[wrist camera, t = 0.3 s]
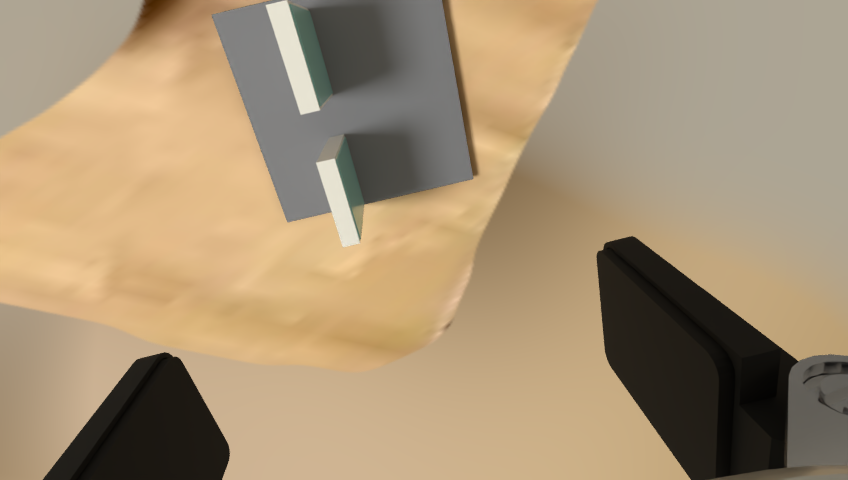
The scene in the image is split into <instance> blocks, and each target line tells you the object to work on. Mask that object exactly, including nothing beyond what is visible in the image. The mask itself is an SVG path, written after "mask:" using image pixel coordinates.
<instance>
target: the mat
mask: <svg viewBox="0 0 848 480" xmlns="http://www.w3.org/2000/svg"><path fill="white" fill-rule="evenodd" d="M281 1H285V0H272V1H267V2H263V3H259V4H255V5H251V6H246V7H242V8H238V9H234V10H229V11H225V12H221V13H217V14H213V15H212V18H213V21H214V23H215V26H216V29H217V31H218V34H219V37H220V40H221V42H222V45H223V48H224V51H225V53H226V56H227V59H228V61H229V64H230V67H231V70H232V72H233V75H234V78H235V81H236V83H237V86H238V89H239V91H240V94H241V97H242V100H243V102H244V105H245V108H246V111H247V113H248V116H249V119H250V122H251V124H252V127H253V130H254V132H255V135H256V138H257V141H258V143H259V146H260V149H261V152H262V154H263V157H264V160H265V162H266V165H267V168H268V171H269V173H270V176H271V179H272V182H273V184H274V187H275V190H276V192H277V195H278V198H279V201H280V203H281V206H282V209H283V212H284V214H285V217H286V220H287V222H291V221H295V220H300V219H304V218H308V217H313V216H317V215H321V214H325V213H330V212H332V211H331V208H330V205H329V202H328V199H327V196H326V193H325V189H324V186H323V183H322V180H321V177H320V174H319V171H318V168H317V164H316V162H317V160H318V158H319V156H320V154H321V152H322V150H323V148H324V146H325V144H326V143H327V141H328V139H329V138H330V137H334V136H338V135H342V134H344V136H345V137H346V140H347V143H348V147H349V150H350V154H351V157H352V161H353V164H354V168H355V171H356V175H357V178H358V182H359V185H360V189H361V192H362V196H363V199H364V204H368V203H373V202H377V201H381V200H385V199H390V198H394V197H398V196H403V195H407V194H411V193H415V192H420V191H424V190H428V189H433V188H437V187H441V186H445V185H450V184H454V183H458V182H463V181H467V180H471V179H473V174H472V169H471V163H470V157H469V151H468V146H467V140H466V134H465V129H464V123H463V117H462V112H461V106H460V100H459V95H458V89H457V83H456V77H455V72H454V66H453V60H452V55H451V49H450V43H449V38H448V32H447V26H446V21H445V15H444V9H443V4H442V0H288V1H291V2H293V3H295V4H298V5H300V6H303V7H305V8H308V10H309V11H310V14H311V17H312V21H313V24H314V28H315V31H316V35H317V38H318V42H319V45H320V49H321V52H322V56H323V59H324V63H325V66H326V70H327V73H328V77H329V80H330V84H331V87H332V91H333V93H332V94H333V96H332V97H331V98H330V99H329V100H328V102H327V103H326V104H325V105H324V106H323V108H322V109H321V110H319V111H315V112H311V113H307V114H302V115H301V114H300V111H299V108H298V105H297V102H296V99H295V96H294V92H293V89H292V86H291V83H290V80H289V77H288V74H287V71H286V67H285V64H284V61H283V58H282V55H281V52H280V49H279V46H278V42H277V39H276V36H275V33H274V30H273V27H272V24H271V20H270V17H269V14H268V11H267V8H266V5H268V4H272V3H276V2H281Z"/></svg>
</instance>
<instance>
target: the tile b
mask: <svg viewBox="0 0 848 480" xmlns="http://www.w3.org/2000/svg"><path fill="white" fill-rule="evenodd" d="M316 164H317V168H318V171H319V174H320V177H321V180H322V183H323V186H324V189H325V193H326V196H327V199H328V202H329V205H330V208H331V211H332V215H333V218H334V221H335V224H336V227H337V230H338V233H339V236H340V240H341V243H342V246H343V247H346V246H351V245H355V244H359V243H360V240H361V233H362V223H363V213H364V199H363V196H362V192H361V189H360V185H359V182H358V178H357V175H356V171H355V168H354V164H353V161H352V157H351V154H350V150H349V147H348V143H347V140H346V137H345V136H344V134H342V135H338V136H334V137H330V138H329V139H328V141H327V143H326V144H325V146H324V148H323V150H322V152H321V154H320V156H319V158H318V160H317V162H316Z"/></svg>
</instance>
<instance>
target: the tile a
mask: <svg viewBox="0 0 848 480" xmlns="http://www.w3.org/2000/svg"><path fill="white" fill-rule="evenodd" d="M266 8H267V11H268V14H269V17H270V20H271V24H272V27H273V30H274V33H275V36H276V39H277V42H278V46H279V49H280V52H281V55H282V58H283V61H284V64H285V67H286V71H287V74H288V77H289V80H290V83H291V86H292V89H293V92H294V96H295V99H296V102H297V105H298V108H299V111H300V114H301V115H302V114H307V113H311V112H315V111H319V110H321V109H322V108H323V106H324V105H325V104H326V103H327V102H328V100H329V99H330V98H331V97H332V96H333V94H332V93H333V91H332V87H331V84H330V80H329V77H328V73H327V70H326V66H325V63H324V59H323V56H322V52H321V49H320V45H319V42H318V38H317V35H316V31H315V28H314V24H313V21H312V17H311V14H310V11H309V10H308V8H305V7H303V6H300V5H298V4H295V3H293V2H291V1H288V0H285V1H281V2H276V3H272V4H268V5H266Z"/></svg>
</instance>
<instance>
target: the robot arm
mask: <svg viewBox="0 0 848 480" xmlns="http://www.w3.org/2000/svg"><path fill="white" fill-rule="evenodd" d="M597 267H598V278H599V288H600V301H601V312H602V323H603V334H604V345H605V353H606V357H607V360H608V362H609V364H610V366H611V368H612V369H613V370H614V372H615V373H616V375H617V376H618V378H619V379H620V380H621V382H622V383H623V385H624V386H625V387H626V389H627V390H628V392H629V393H630V395H631V396H632V397H633V399H634V400H635V402H636V403H637V404H638V406H639V407H640V409H641V410H642V411H643V413H644V414H645V416H646V417H647V418H648V420H649V421H650V423H651V424H652V425H653V427H654V428H655V429H656V431H657V433H658V434H659V435H660V436H661V438H662V440H663V441H664V442H665V443H666V445H667V447H668V448H669V449H670V451H671V452H672V453H673V455H674V456H675V458H676V459H677V461H678V462H679V463H680V465H681V466H682V468H683V469H684V470H685V472H686V473H687V475H688V476H689V477H690V479H691V480H848V356H841V355H818V356H812V357H809V358H806V359H803V360H800V361H797V360H796V359H795V358H793V357H792V356H791V355H789V354H788V353H787V352H786V351H784V350H783V349H782V348H780V347H779V346H778V345H776V344H775V343H774V342H772V341H771V340H770V339H769V338H767V337H766V336H765V335H763V334H762V333H761V332H759V331H758V330H757V329H755V328H754V327H753V326H751V325H750V324H749V323H747V322H746V321H745V320H744V319H742V318H741V317H740V316H738V315H737V314H736V313H734V312H733V311H731V310H730V309H729V308H728V307H726V306H725V305H724V304H722V303H721V302H720V301H719V300H717V299H716V298H715V297H713V296H712V295H711V294H709V293H708V292H707V291H705V290H704V289H703V288H701V287H700V286H698V285H697V284H696V283H694V282H693V281H692V280H691V279H689V278H688V277H687V276H685V275H684V274H683V273H681V272H680V271H679V270H677V269H676V268H675V267H673V266H672V265H671V264H670V263H668V262H667V261H666V260H664V259H663V258H662V257H660V256H659V255H658V254H656V253H655V252H654V251H652V250H651V249H650V248H649V247H647V246H646V245H645V244H643V243H642V242H641V241H639V240H638V239H637V238H635V237H633V236H631V237H627V238H622V239H618V240H614V241H610V242H607V243H605V245H604V249H603V250H602V251H598V253H597ZM229 454H230V453H229V446H228V443H227V441H226V439H225V437H224V436H223V434H222V432H221V431H220V429H219V427H218V425H217V423H216V422H215V420H214V418H213V416H212V414H211V412H210V411H209V409H208V407H207V406H206V404H205V402H204V400H203V399H202V397H201V395H200V393H199V391H198V389H197V388H196V386H195V384H194V382H193V380H192V379H191V377H190V375H189V373H188V371H187V370H186V368H185V366H184V364H183V363H182V361H181V360H180V359H179V358H178V357H173V356H172V355H170V354H169V353H165V352H164V353H160V354H156V355H152V356H149V357H144V358H140V359H137V360H136V361H135V362H134V363H133V364H132V366H131V367H130V368H129V370H128V371H127V372H126V373H125V375H124V376H123V377H122V378H121V380H120V381H119V382H118V384H117V385H116V386H115V387H114V389H113V390H112V392H111V393H110V394H109V395H108V396H107V398H106V399H105V400H104V402H103V403H102V404H101V405H100V407H99V408H98V409H97V411H96V412H95V413H94V414H93V416H92V417H91V418H90V420H89V421H88V422H87V424H86V425H85V426H84V427H83V429H82V430H81V431H80V432H79V434H78V435H77V436H76V438H75V439H74V440H73V442H72V443H71V444H70V446H69V447H68V448H67V449H66V450H65V452H64V453H63V454H62V456H61V457H60V458H59V459H58V461H57V462H56V463H55V465H54V466H53V467H52V469H51V470H50V471H49V472H48V474H47V475H46V476H45V477H44V479H43V480H222V478H223V475H224V472H225V470H226V467H227V464H228V461H229V456H230V455H229Z"/></svg>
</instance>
